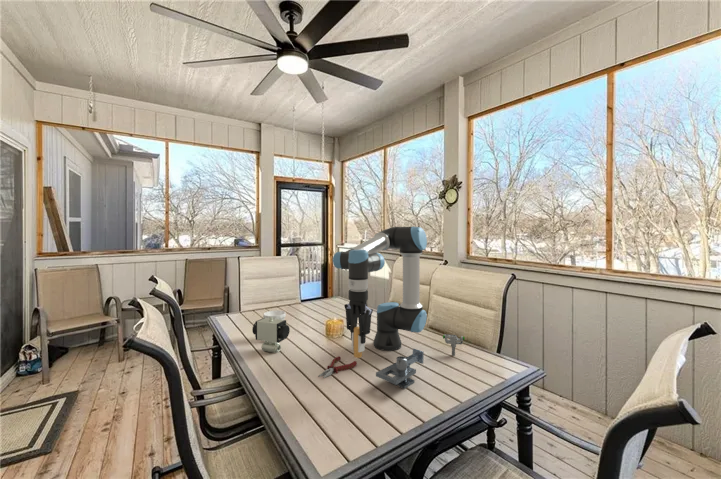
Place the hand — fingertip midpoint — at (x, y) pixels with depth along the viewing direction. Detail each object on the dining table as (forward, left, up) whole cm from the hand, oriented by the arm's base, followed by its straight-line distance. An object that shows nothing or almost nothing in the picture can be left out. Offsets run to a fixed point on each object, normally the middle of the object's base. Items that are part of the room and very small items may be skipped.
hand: (358, 349), depth 120 cm
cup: (-74, +8, -17) cm, 76 cm away
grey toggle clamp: (+8, +19, -16) cm, 26 cm away
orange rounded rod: (0, 0, -2) cm, 2 cm away
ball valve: (-60, -2, -17) cm, 62 cm away
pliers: (-22, +7, -17) cm, 29 cm away
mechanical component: (+10, +59, -17) cm, 62 cm away
